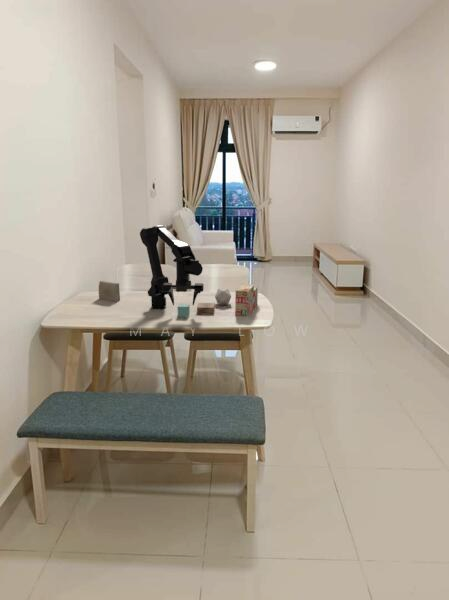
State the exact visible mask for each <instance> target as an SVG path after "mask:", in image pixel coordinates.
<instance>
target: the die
mask: <svg viewBox="0 0 449 600" xmlns="http://www.w3.org/2000/svg"><path fill="white" fill-rule="evenodd" d="M214 295H215V296H214V299H215V301H216V303H217V305H218V306H227V305H229V304H230V301H231V299H232V295H231V293H230V290H229V288H217V290H216V293H215V294H214Z"/></svg>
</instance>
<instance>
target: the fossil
mask: <svg viewBox="0 0 449 600" xmlns="http://www.w3.org/2000/svg"><path fill="white" fill-rule="evenodd" d="M98 300H103V301H110V302H115V303H116V302H121V293H120V282H119V283H118V282H112V281H106V280H100V281H99V283H98Z"/></svg>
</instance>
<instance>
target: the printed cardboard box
mask: <svg viewBox="0 0 449 600" xmlns="http://www.w3.org/2000/svg"><path fill="white" fill-rule="evenodd" d="M258 293H259V292H258V286H255V285H254V284H243V283H242V284H241V285H240V286H239V287H238V288H237V289H236V290H235V306H234V307H235V309H234V310H235V311H234V314H235V316H243V317H249V316H250V315H251V313H252V312H253V310H254V309H255V308H256V307H257V305H258V298H259V297H258Z"/></svg>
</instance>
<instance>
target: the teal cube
mask: <svg viewBox="0 0 449 600" xmlns="http://www.w3.org/2000/svg"><path fill="white" fill-rule="evenodd" d="M190 311H191V310H190V303H178V304H177V317H178V318H189V317H190V314H191V313H190Z"/></svg>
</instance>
